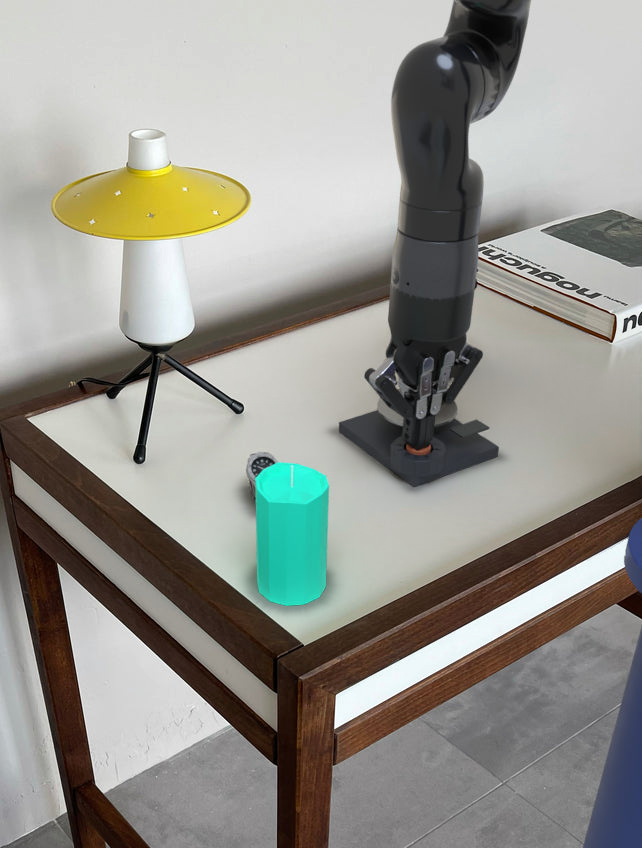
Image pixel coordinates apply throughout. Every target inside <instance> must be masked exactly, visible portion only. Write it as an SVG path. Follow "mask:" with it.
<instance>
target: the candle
mask: <svg viewBox="0 0 642 848" xmlns="http://www.w3.org/2000/svg"><path fill="white" fill-rule="evenodd" d="M255 490H256V504H255V533H256V534H255V537H256V538H255V540H256V542H255V543H256V544H255V545H256V546H255V548H256V584H257V589H258V593H259V594H261V595H262V596H263V597H264V598H265V599H266V600H267V601H269V602H271V603H274V604H277V605H278V604H279V605H282V606H287V607H289V606H290V607H291V606H302V605H303V606H304V605H307V604H309V603H311V602H313V601H315V600H317V599H319V598H320V597H321V596H322V594H323V592H324V591H325V590H326V588H327V567H328V566H327V562H328V531H329V530H328V529H329V502H330V501H329V499H330V496H329V495H330V484H329V480H328V478H327V475H325V474H324V473H323V472H320V471H318V470H317V469H316V468H312V467H309V466H306V465H303V464H299V463H296V462H295V463H293V462H281V461H278V462H277V463H275V464H274V465H272V466H270V467H268V468H266V469H264V470H262V472H261V473H260V474H259V475H258V476H257V477H256V478H255Z"/></svg>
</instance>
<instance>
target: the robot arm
mask: <svg viewBox="0 0 642 848" xmlns="http://www.w3.org/2000/svg"><path fill="white" fill-rule="evenodd" d="M531 4H532V0H453V1H452V5H451V6H452V7H451V11H450V14H449V19H448V22H447V25H446V28H445V31H444V33H443V35H442V37H438V38H435V39H430V40H427V41H424V42H422V43H419V44H418V45H416V46H415V47H413V48H412V49H411V50H410V51H409V52H408V53H406V55H405V56H404V57H403V59H402V61H400V64H399V66H398V69H397V70H396V73H395V76H394V80H393V84H392V90H391V98H390V117H391V125H392V132H393V133H392V134H393V139H394V147H395V153H396V161H397V165H398V169H399V173H400V180H401V184H400V189H399V190H400V191H399V199H398V200H399V201H398V212H397V213H398V215H397V217H398V218H397V229H396V235H395V240H394V244H393V249H392V258H391V270H390V271H391V272H390V286H389V287H390V288H389V299H388V313H387V314H388V315H387V323H388V327H389V331H390V341H389V342H388V345H387V347H386V349H385V359H384V360H383V362H382V363H381V364H380V365H379V366H378V367H377V368H376V369H375V368H373V367H370V368H367V369H366V371H365V372H364V377H363V378H364V379H365V380H366V382H367V383H368V384H369V386H370V387H371V388H372V389H373V391H375V393H376V394H377V395H378V397H379V399H380V398H381V399H382V400H383V401H384V402H385V404H386V405H387V406H388V407H389V408H390V409H392V410H393V411H395V412H396V413H398V414H399V415H401V416H402V417H404V420H403V432H402V438H403V440H404V441H405V442H406V444H408V445H409V446H411V447H412V448H413V449H415V450H420V449H423V448H425V447H428V446H429V445H430V440H432V437H433V435H434V426H435V416H436V414H437V413H438V412H439V410H440V407H441V406H442V405H443V404H444V403H446V404H451V403H453V401H455V400H456V398H457V397H458V395H459V394H460V392H461V391H462V389H463V388H464V386H465V384H466V383H467V382H468V380H469V379H470V377H471V375H472V374H473V373H474V371H475V370H476V368H477V366H478V365H479V364H480V362H481V360H482V359H483V356H484V352H483V350H481V349H479V348H477V347H476V346H474V345H472V344H471V343H468V342H467V338H468V337H467V336H468V335H467V333H468V332H469V329H471V324H472V315H473V307H474V306H473V305H474V298H475V291H476V289H475V282H476V279H477V275H478V274H477V273H478V272H477V269H478V265H479V252H480V251H479V249H480V248H479V233H480V232H479V231H480V224H481V215H482V208H483V207H482V206H483V199H484V171H483V169H482V167H481V166H480V164H478V163H477V161H475V160H473V159H472V158H470V152H469V149H470V148H469V134H470V133H469V132H470V126H471V125H472V124H474V123H477V122H479V121H481V120H483V119H485V118H486V117H488V116H490V115H491V114H492V113H493V112H494V111H495V110H496V109H497V108H498V107H499V106H500V105H501V103H502V101H503V99H504V98H505V97H506V94H507V92H508V91H509V88H510V87H511V85H512V83H513V80H514V77H515V75H516V72H517V69H518V66H519V62H520V58H521V53H522V50H523V45H524V41H525V37H526V32H527V27H528V22H529V16H530V10H531V9H530V8H531ZM396 375H397V376H398V381H397V376H396ZM452 378H453V380H452V382H451V383H449V382H450V380H451V379H452ZM397 386H398V387H399V388H397ZM398 389H401V391H402V394H401V393H400V392H399V391H398Z"/></svg>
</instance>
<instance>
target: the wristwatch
mask: <svg viewBox="0 0 642 848" xmlns="http://www.w3.org/2000/svg"><path fill="white" fill-rule="evenodd" d="M277 462H279V461H278V460H277V458H276V457H275V456H274V455H273V454H272V453H270V452H265V451H258V452H254V453H250V454H249V457H248V458H247V463H246V468H245V473H246V477H247V479H248V482H249V483H248V486H249V489H250V490H249V492H250V494H251V495H250V496H251V499H252V500H253V503H254V504H255V505H256V490H255V478H256V477H257V476H258V475H259V474H260V473H261V472H262V470H264V469H266V468H268V467H270V466H272V465H274V464H275V463H277Z"/></svg>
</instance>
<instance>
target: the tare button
mask: <svg viewBox="0 0 642 848" xmlns="http://www.w3.org/2000/svg"><path fill="white" fill-rule="evenodd" d="M406 451H407V452H408V453H410V454H414V455H426V454H429V453H430V451H431V445H429V446H428V447H425V448H423V449H420V450H415V449H413V448H412V447H411V446H409V445H408V444H407V445H406Z"/></svg>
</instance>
